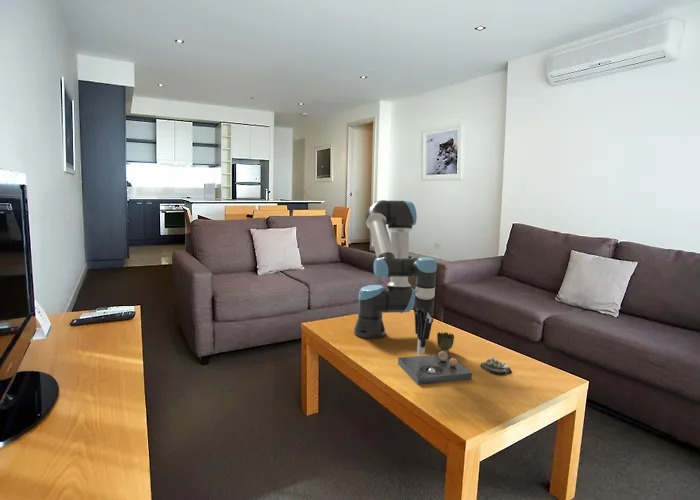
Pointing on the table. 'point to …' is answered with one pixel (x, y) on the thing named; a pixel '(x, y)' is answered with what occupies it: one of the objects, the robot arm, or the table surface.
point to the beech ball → (443, 356)
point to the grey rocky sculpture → (496, 367)
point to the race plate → (444, 371)
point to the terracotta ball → (453, 362)
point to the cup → (445, 341)
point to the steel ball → (431, 370)
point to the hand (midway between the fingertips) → (420, 353)
